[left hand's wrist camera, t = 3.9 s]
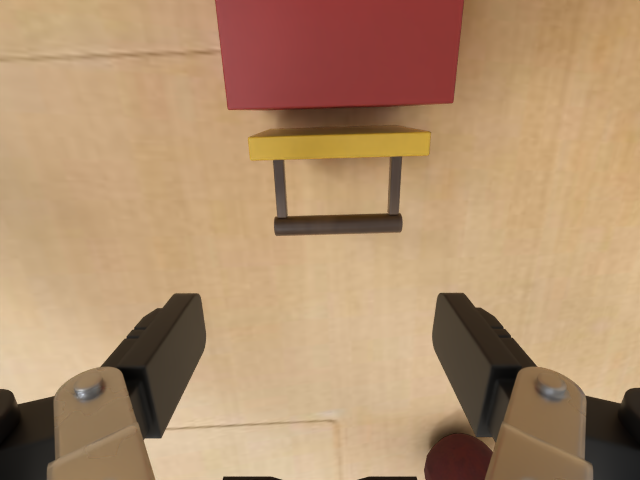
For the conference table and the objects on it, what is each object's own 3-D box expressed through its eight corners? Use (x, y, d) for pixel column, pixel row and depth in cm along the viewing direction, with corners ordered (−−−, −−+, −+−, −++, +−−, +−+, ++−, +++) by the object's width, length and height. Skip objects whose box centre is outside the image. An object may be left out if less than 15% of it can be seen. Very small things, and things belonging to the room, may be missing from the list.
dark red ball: (496, 452, 38) (533, 523, 31) (432, 476, 39) (455, 550, 33) (471, 409, 36) (506, 476, 29) (404, 436, 37) (423, 507, 30)
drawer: (392, 207, 27) (422, 245, 19) (275, 210, 27) (258, 249, 19) (410, -157, 19) (471, -330, 12) (247, -151, 19) (202, -321, 12)
